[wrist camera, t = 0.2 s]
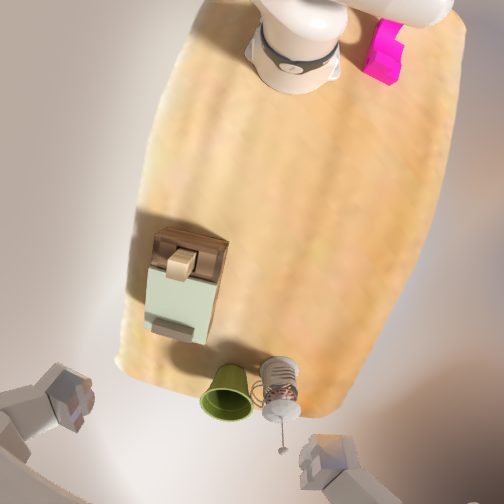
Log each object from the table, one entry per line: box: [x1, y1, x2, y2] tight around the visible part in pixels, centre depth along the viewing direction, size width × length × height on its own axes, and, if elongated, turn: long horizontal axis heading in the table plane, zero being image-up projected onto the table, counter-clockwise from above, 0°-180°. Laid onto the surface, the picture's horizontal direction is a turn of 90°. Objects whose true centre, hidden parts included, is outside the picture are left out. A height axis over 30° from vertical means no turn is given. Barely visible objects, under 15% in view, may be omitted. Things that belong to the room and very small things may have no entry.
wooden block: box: [166, 247, 199, 282], centre depth 49 cm, size 3×3×12 cm
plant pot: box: [200, 364, 254, 422], centre depth 60 cm, size 12×12×11 cm
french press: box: [250, 357, 301, 455], centre depth 52 cm, size 10×12×25 cm
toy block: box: [363, 18, 405, 86], centre depth 38 cm, size 15×6×8 cm, turn 161°
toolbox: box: [151, 227, 229, 344], centre depth 55 cm, size 20×13×7 cm, turn 167°
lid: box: [144, 266, 217, 345], centre depth 50 cm, size 13×13×4 cm
